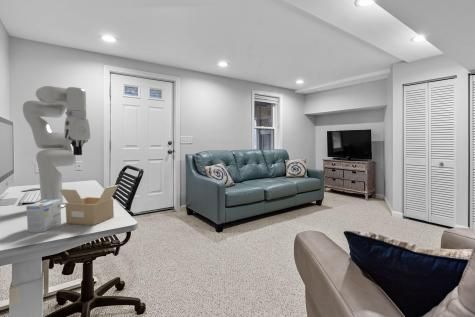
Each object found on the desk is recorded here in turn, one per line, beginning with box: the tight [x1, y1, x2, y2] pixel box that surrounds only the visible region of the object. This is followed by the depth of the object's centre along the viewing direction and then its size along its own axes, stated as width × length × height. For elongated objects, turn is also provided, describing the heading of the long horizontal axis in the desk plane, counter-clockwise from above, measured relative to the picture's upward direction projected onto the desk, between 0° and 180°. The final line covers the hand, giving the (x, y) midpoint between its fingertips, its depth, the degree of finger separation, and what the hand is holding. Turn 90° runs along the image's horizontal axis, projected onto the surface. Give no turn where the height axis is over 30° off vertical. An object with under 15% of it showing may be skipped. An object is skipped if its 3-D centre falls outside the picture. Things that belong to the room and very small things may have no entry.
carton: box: [65, 196, 115, 226], centre depth 110 cm, size 14×13×9 cm
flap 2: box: [97, 184, 119, 203], centre depth 108 cm, size 8×8×1 cm
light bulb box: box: [25, 199, 62, 233], centre depth 100 cm, size 11×7×11 cm, turn 5°
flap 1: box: [59, 188, 85, 204], centre depth 101 cm, size 8×8×1 cm
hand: (77, 154), depth 113 cm, fingers closed
